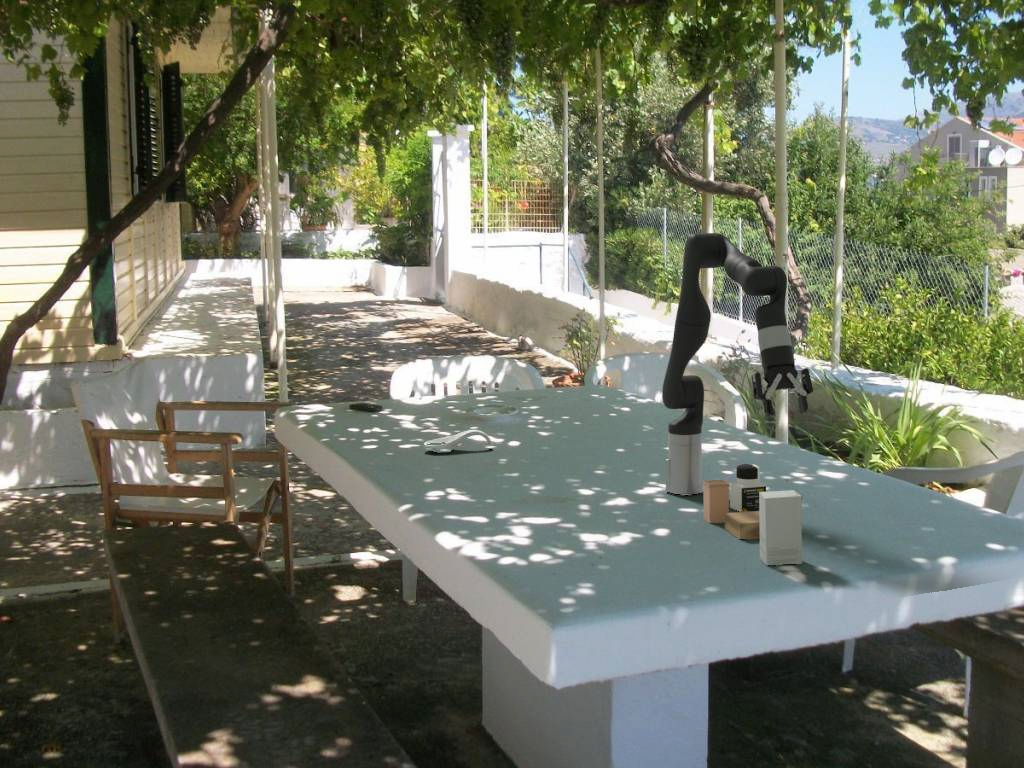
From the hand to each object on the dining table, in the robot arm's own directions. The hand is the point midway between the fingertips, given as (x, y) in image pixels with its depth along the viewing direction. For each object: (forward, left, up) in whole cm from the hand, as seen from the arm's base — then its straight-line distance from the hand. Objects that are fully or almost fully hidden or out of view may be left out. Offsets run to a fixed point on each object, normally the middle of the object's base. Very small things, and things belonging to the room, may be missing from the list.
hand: (787, 414), depth 280 cm
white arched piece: (-138, +65, -30) cm, 155 cm away
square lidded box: (-22, +10, -30) cm, 38 cm away
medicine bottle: (-19, +25, -30) cm, 43 cm away
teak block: (-9, +2, -30) cm, 31 cm away
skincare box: (+5, -20, -30) cm, 37 cm away
